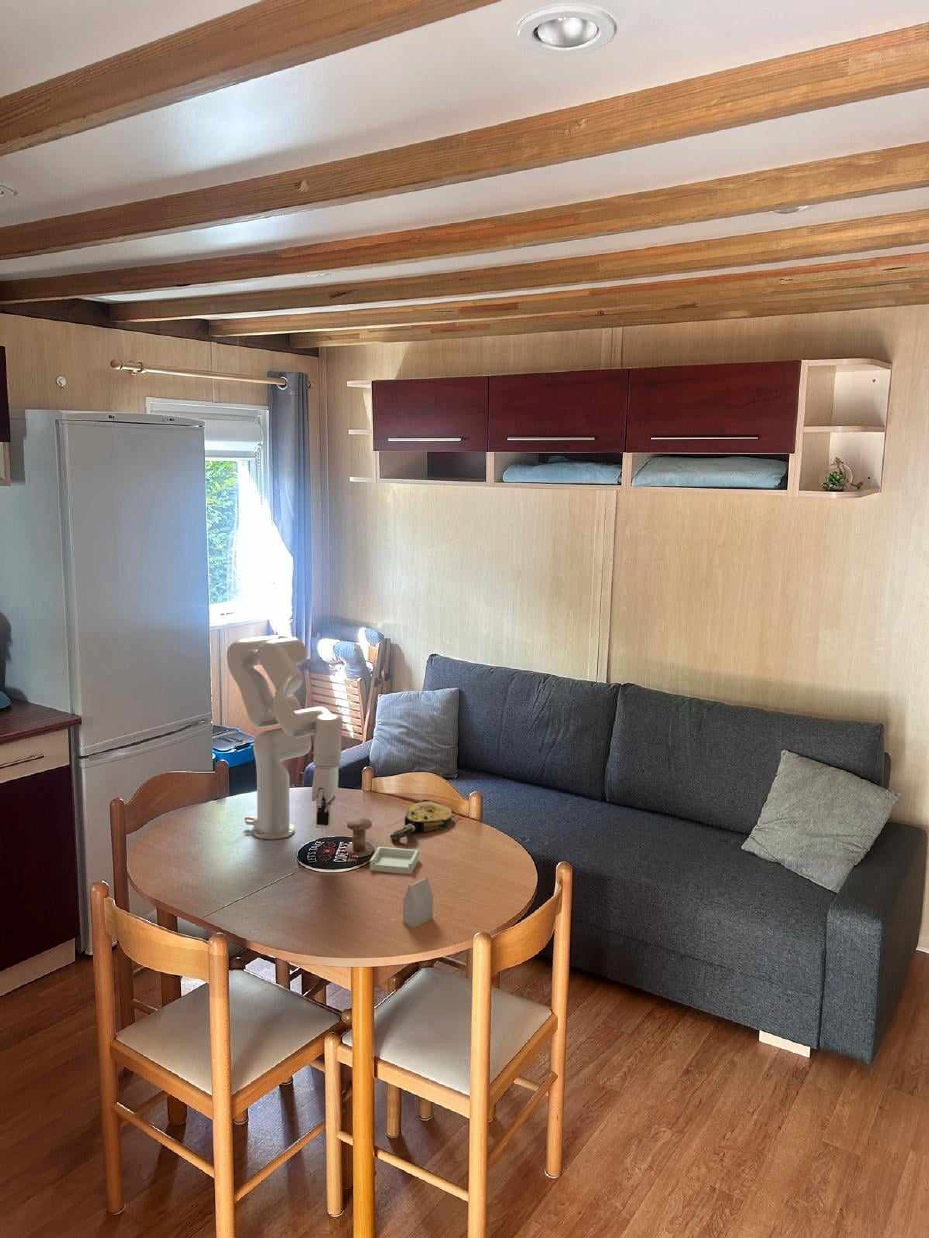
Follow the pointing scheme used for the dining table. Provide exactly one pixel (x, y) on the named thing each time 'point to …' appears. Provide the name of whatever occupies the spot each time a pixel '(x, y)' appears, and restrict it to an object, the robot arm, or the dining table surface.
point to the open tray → (394, 860)
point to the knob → (359, 837)
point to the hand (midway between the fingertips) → (325, 820)
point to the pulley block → (424, 818)
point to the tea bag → (418, 903)
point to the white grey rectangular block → (331, 814)
